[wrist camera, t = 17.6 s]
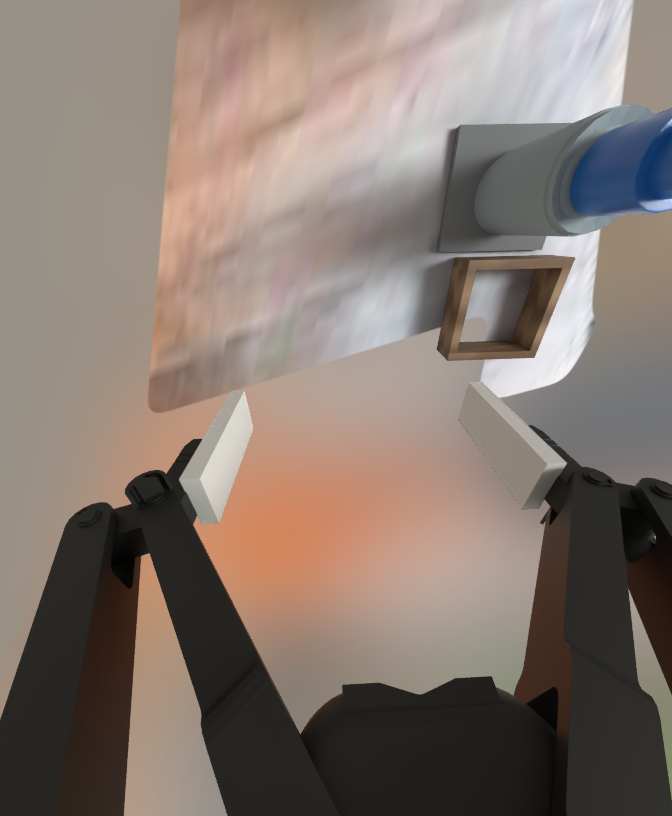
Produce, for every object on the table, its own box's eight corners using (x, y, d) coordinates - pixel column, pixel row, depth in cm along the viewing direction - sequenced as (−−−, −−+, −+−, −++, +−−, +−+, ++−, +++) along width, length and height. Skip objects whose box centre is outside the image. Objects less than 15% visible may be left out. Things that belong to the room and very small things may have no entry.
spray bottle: (558, 183, 35) (906, 110, 14) (501, 249, 39) (708, 269, 18) (516, 128, 32) (880, -67, 11) (460, 206, 36) (649, 169, 15)
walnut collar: (454, 257, 40) (469, 260, 36) (549, 255, 40) (575, 257, 36) (436, 349, 48) (447, 360, 44) (516, 346, 48) (534, 357, 44)
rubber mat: (457, 127, 32) (460, 124, 32) (578, 125, 33) (585, 122, 32) (437, 251, 40) (439, 252, 39) (537, 249, 40) (541, 249, 39)
